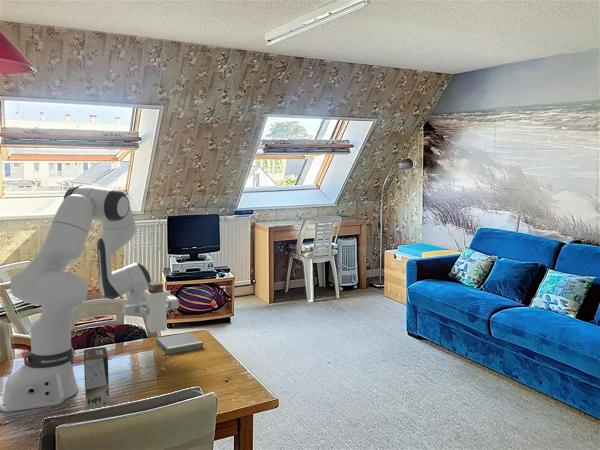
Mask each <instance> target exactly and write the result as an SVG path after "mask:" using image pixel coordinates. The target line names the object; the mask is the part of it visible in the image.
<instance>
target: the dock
mask: <svg viewBox="0 0 600 450" xmlns="http://www.w3.org/2000/svg"><path fill="white" fill-rule="evenodd" d="M156 344H157V345H158V346H159V347H160V348H161V349H162V350H163V351H164V352H165V353H166V354H167V355H170V354H171V355H172V354H177V353H181V352H187V351H192V350H198V349H202V348H204V342H203V340H202V341H201V340H200V339H199V338H198V337H196V336H195V335H194V334H193V333H191V332H186V333H177V334H172V335H169V336H168V335H167V336H162V337H156Z"/></svg>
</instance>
